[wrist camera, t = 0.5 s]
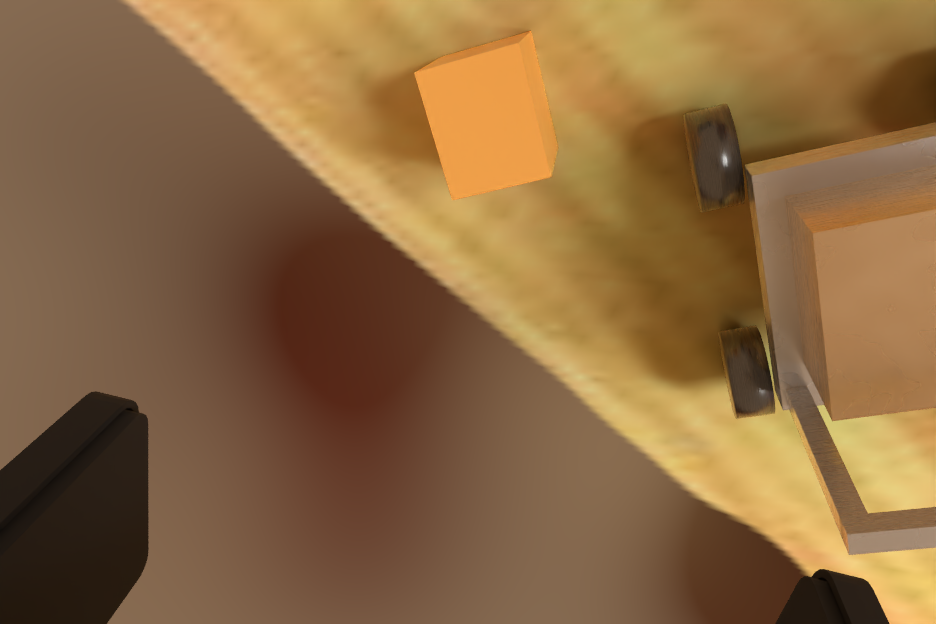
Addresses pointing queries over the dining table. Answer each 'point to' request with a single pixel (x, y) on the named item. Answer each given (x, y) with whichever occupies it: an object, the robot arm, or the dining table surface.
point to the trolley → (834, 295)
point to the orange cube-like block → (489, 116)
